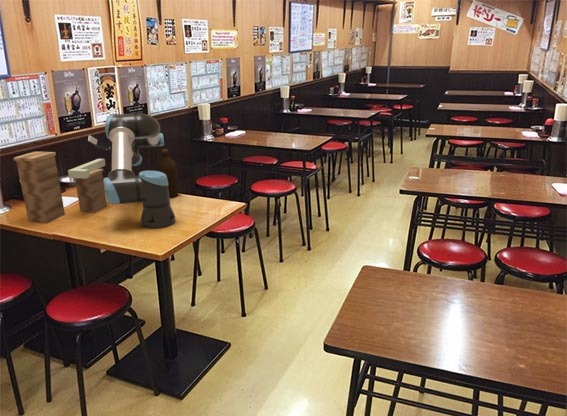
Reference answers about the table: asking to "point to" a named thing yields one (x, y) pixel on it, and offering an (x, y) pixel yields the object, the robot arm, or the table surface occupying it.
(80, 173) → the crook
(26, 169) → the tall wooden block
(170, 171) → the olive oil
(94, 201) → the short wooden block stack
